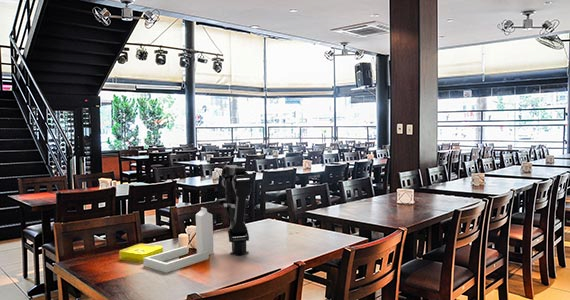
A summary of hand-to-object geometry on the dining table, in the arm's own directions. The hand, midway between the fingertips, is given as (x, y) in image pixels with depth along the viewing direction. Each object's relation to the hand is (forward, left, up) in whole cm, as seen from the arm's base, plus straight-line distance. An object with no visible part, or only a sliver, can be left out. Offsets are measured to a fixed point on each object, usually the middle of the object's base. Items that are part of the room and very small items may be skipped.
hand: (232, 220), depth 222 cm
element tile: (+23, +38, -14) cm, 46 cm away
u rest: (+2, +33, -13) cm, 36 cm away
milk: (+2, +17, -13) cm, 22 cm away
